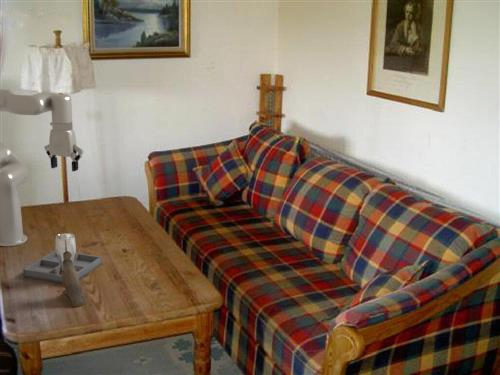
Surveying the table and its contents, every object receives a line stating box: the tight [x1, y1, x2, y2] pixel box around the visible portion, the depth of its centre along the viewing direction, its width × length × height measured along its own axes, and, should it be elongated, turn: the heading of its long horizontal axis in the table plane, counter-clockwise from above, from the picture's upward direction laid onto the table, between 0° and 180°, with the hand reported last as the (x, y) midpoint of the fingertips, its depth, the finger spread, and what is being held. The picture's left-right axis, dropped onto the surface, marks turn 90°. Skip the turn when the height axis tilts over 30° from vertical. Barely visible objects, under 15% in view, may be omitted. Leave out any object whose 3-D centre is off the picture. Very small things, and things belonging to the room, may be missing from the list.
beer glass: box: [55, 232, 77, 275], centre depth 231 cm, size 7×7×15 cm
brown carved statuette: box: [61, 251, 87, 308], centre depth 216 cm, size 12×6×18 cm, turn 32°
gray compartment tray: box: [23, 249, 103, 285], centre depth 239 cm, size 20×20×3 cm
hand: (64, 169), depth 253 cm, fingers open, 9 cm apart
